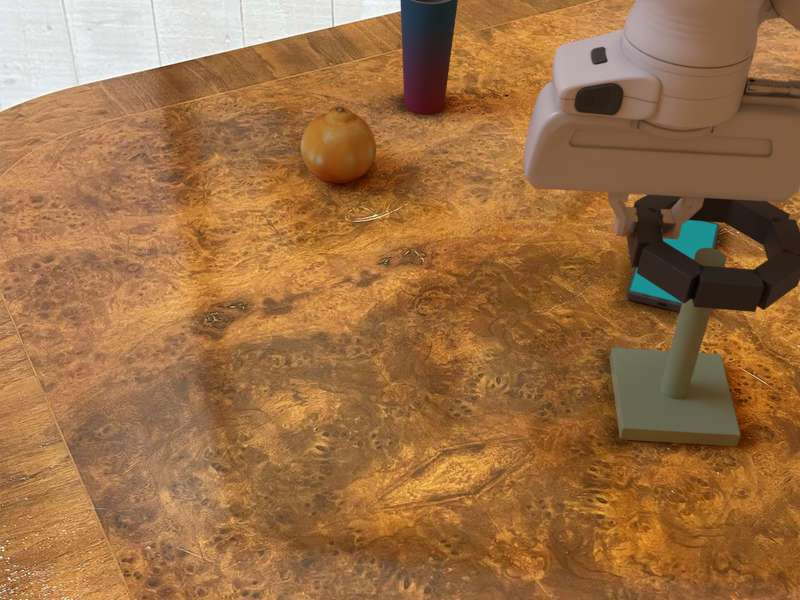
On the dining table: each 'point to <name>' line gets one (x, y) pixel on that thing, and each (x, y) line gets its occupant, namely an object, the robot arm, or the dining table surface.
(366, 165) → the fruit
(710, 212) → the ring
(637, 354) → the post
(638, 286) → the smartphone
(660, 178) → the robot arm
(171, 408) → the dining table surface
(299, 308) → the dining table surface
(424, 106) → the cup
